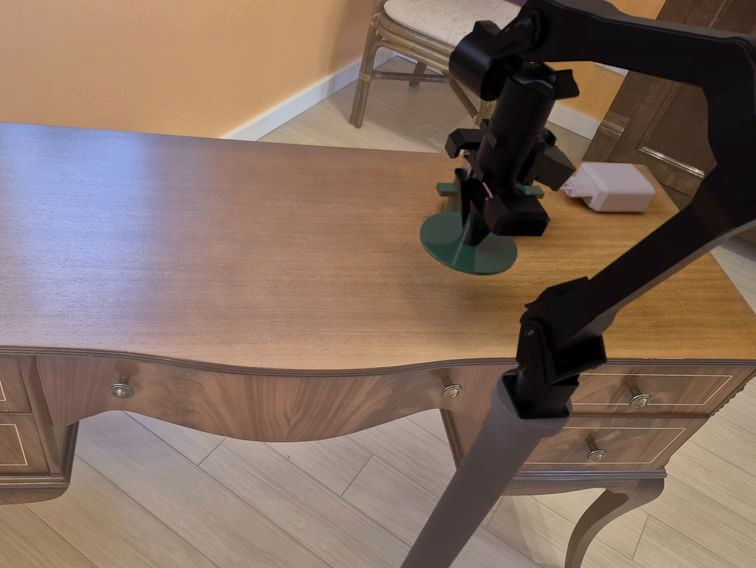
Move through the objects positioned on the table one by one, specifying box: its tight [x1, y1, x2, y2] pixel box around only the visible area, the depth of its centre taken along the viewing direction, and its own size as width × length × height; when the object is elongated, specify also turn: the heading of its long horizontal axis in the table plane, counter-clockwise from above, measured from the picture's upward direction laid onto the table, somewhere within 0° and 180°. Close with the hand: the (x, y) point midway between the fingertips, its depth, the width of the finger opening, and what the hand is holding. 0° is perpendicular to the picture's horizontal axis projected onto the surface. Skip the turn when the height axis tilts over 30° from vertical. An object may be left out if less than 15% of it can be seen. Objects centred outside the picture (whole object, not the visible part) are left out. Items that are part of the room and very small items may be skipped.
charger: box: [558, 162, 656, 213], centre depth 105 cm, size 5×9×15 cm
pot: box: [435, 175, 546, 212], centre depth 96 cm, size 12×17×6 cm
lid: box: [418, 211, 519, 277], centre depth 77 cm, size 13×13×5 cm
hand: (470, 237), depth 78 cm, fingers closed on lid, 2 cm apart
